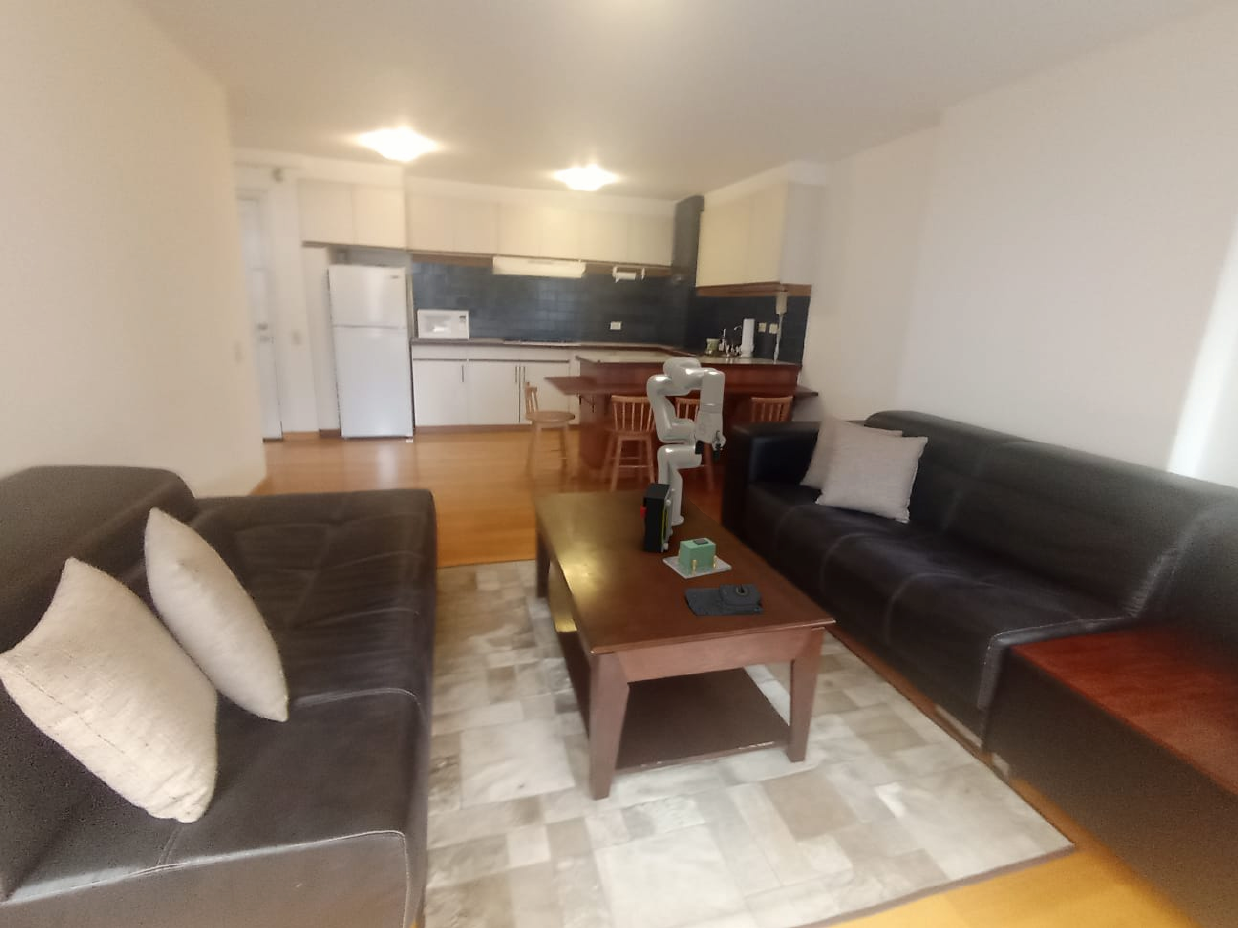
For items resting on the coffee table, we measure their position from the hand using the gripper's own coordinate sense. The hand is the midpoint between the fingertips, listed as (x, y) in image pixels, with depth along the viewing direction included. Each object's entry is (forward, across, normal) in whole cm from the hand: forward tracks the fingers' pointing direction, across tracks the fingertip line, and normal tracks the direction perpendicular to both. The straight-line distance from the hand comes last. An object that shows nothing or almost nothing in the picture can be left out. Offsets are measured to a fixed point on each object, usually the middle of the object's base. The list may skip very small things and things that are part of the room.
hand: (707, 457), depth 197 cm
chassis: (+34, +10, -8) cm, 37 cm away
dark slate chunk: (+35, +34, -15) cm, 51 cm away
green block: (+33, +10, -8) cm, 36 cm away
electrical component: (+35, -12, -11) cm, 38 cm away
